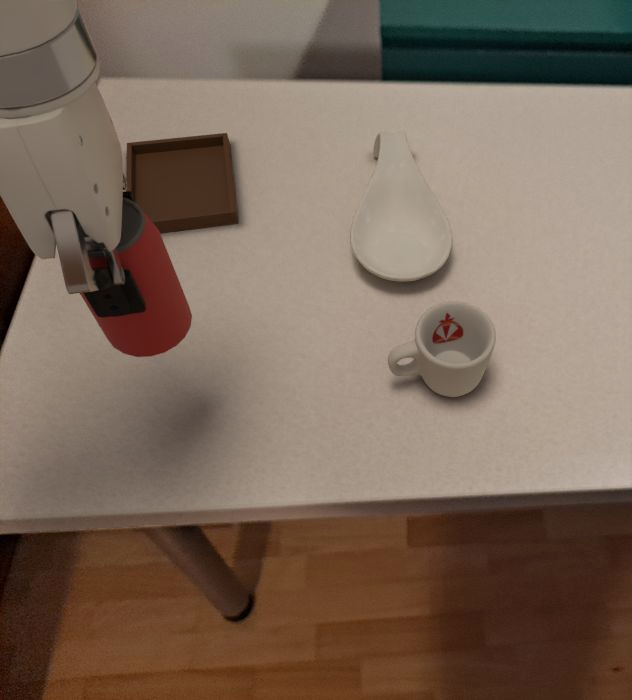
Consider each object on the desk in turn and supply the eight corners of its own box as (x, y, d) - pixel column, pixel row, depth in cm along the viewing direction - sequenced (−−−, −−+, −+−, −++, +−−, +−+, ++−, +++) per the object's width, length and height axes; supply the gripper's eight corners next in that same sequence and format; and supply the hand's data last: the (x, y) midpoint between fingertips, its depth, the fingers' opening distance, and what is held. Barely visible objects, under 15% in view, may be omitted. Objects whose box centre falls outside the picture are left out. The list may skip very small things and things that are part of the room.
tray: (131, 237, 81) (125, 225, 79) (131, 155, 88) (126, 142, 86) (238, 223, 83) (235, 211, 81) (230, 144, 90) (227, 132, 89)
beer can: (123, 291, 57) (67, 184, 48) (203, 298, 58) (164, 194, 48) (96, 357, 54) (30, 256, 44) (181, 364, 54) (135, 265, 44)
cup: (397, 419, 70) (396, 380, 64) (381, 355, 74) (379, 312, 68) (497, 398, 73) (506, 358, 66) (476, 337, 77) (483, 293, 70)
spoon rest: (456, 292, 80) (461, 252, 74) (355, 300, 78) (351, 259, 72) (432, 153, 92) (434, 109, 86) (344, 157, 91) (340, 112, 85)
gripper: (-45, -40, 39) (74, 193, 54) (-103, 170, 30) (60, 380, 45) (97, -43, 40) (175, 184, 55) (83, 155, 32) (180, 362, 46)
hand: (123, 270), depth 50 cm, fingers closed on beer can, 6 cm apart
